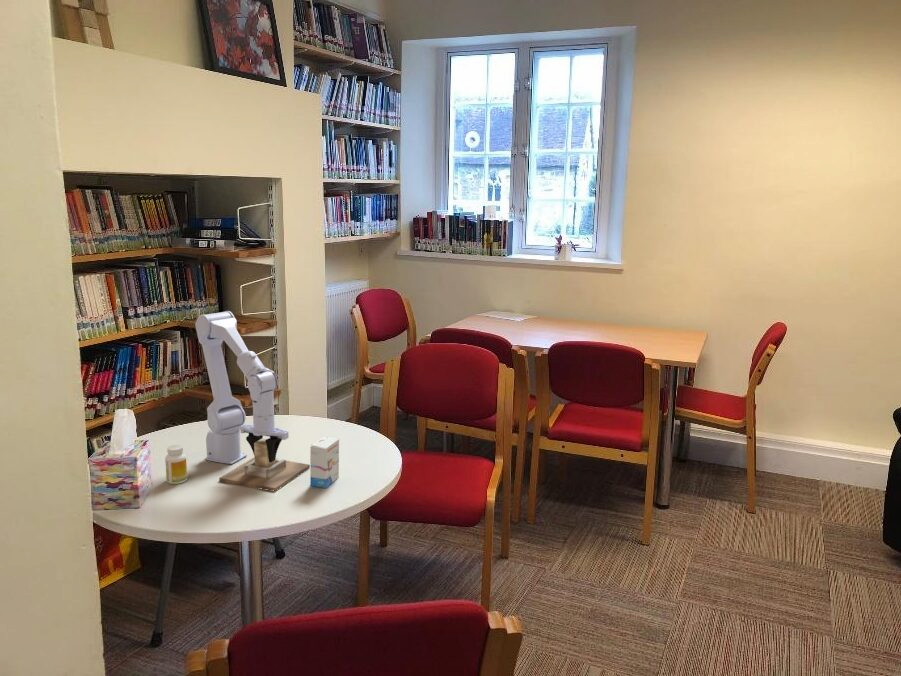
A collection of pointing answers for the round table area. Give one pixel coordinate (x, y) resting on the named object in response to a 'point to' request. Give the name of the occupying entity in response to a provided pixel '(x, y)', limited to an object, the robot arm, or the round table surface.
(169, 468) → the supplement bottle
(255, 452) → the maple post
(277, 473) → the well stand
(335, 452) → the ink box
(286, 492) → the round table surface
